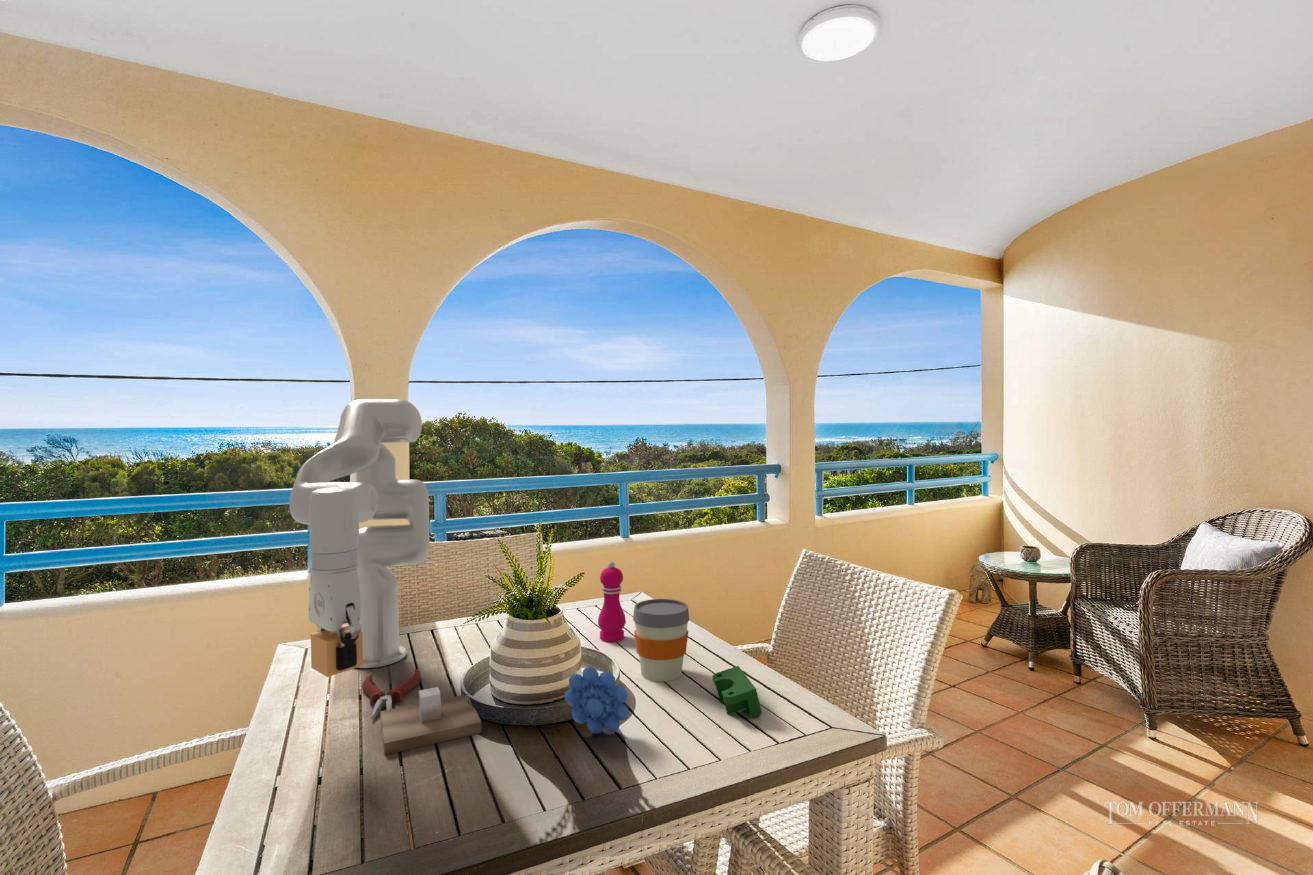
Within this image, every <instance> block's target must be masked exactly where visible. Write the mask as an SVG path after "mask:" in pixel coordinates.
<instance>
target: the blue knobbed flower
mask: <svg viewBox="0 0 1313 875" xmlns="http://www.w3.org/2000/svg"><path fill="white" fill-rule="evenodd" d="M581 674H582V675H581ZM581 674H579V673H574V674H572V675H569V678H568V686H569V687H570V689H568V690H566V691H565V693H564V701H565V702H566V704H567V705H568V706H569V707H571V708H572V710H571V716H572V719H573V720H574V721H575V723H577V724H579V725H580V724H581V725H583V724H585V723H586V726H587V729H588V730H589V732H590V733H593V734H594V735H595V734H597V735H598V734H600V733H602V732H603V729H605V730H606V731H607V732H609V733H616V732H617V731H618V730H619V729H620V721H625V720H627V719H628V718H629V715H630V711H629V707H628V706H627V704H625V702H626V701H627V699H628V691H627V690H626V688H624V686H622V685H618V684H617V685H616V682H617V681H616V676H614V674H613V673H612V672H610V671H606V670H605V671H602V672H600V674H599V671H598V670H597V669H596V668H594V667H593V666H587V667H585V668H583V670H582V673H581Z"/></svg>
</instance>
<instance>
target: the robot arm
mask: <svg viewBox="0 0 1313 875" xmlns="http://www.w3.org/2000/svg"><path fill="white" fill-rule="evenodd" d="M422 425H423V422H422V416H421V414H420V411H419V410H418V408H417V407H416V406H415V405H414V404H413V403H412V402H410V401H409V400H406V399H401V398H397V399H394V398H361V399H360V398H359V399H356V400H353V401H350V402H349V403H347V404H346V405H345V407H344V409H343V410H342V413H341V415H340V420H339V423H338V427H337V432H336V435H335V438H334V442H333V443H332V444H329V445H328V446H326V447H325V448H323V449H322V450H319V452H317V453H315V454H314V455H313V456H311V457H310V458H309V459H307V460H306V461H305V462H304V463H303V464H302V465H301V466H300V468H299V470H298V471H297V475H296V478H295V480H294V484H293V486H292V489H291V492H290V493H291V494H290V498H289V513H290V515H291V517H292V518H293V520H294V521H295V522H296V523H299V524H303V525H308V526H309V567H310V570H309V571H310V577H309V586H308V587H309V588H308V621H310V623H312V625H315V626H316V627H317V629H316V632H318V631H322V630H327V631H329V632H336V636H337V641H338V646H339V647H336V669H337V670H338V671H341V670H344V669H347V668H350V667H353V666H356V664H357V645H356V643H357V642H358V639H357V638H358V636H359V634H360V632H361V631H363V666H360V667H357V668H358V669H374V668H381V667H386V666H388V665H392V664H395V663H397V662H399V661H401V660H403V659H404V658H405V657H406V656H407V648H405V647H404V646H402V645H400V628H399V626H400V625H399V624H400V619H399V616H400V615H399V613H400V612H399V583H398V580H397V578H396V576H395V575H394V574H393V572H392V571H391V570H390V569H389V568H388V567H393V566H407V565H409V566H410V565H417V564H421V563H423V562H425V561H427V558H428V556H429V554H430V553H429V552H430V501H429V499H430V498H429V492H428V488H427V486H426V484H425V482H423V481H422V480H420V479H415V478H414V479H413V478H412V479H410V478H409V479H408V478H407V479H397V477H396V458H395V456H394V455H393V453H392V452H391V450H390V449H389V448H388V447H387V446H386V445H385V443H386V444H387V443H390V444H391V443H392V444H393V443H414V442H416V441H418V439H419V438H420V436H421V433H422V429H423V428H422V427H423V426H422ZM352 474H356V481H334V480H337V479H340V478H343V477H347V476H351V475H352ZM385 520H386V521H388V520H389V521H390V520H391V521H392V520H406V521H408V523H409V524H393V525H391V524H389V525H388V524H387V525H386V524H385V525H384V524H383V525H371V526H370V525H369V526H364V527H361V528H360V523H364V522H366V521H385ZM344 624H347V625H349V626H346V627H342V625H344ZM341 627H342V628H341ZM346 630H349V633H346V635H345V636H344V638H343V633H342V631H346Z"/></svg>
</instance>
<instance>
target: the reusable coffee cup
mask: <svg viewBox="0 0 1313 875" xmlns="http://www.w3.org/2000/svg"><path fill="white" fill-rule="evenodd" d="M689 612H690V611H689V605H688V604H687V603H686V602H683V601H681V600H677V599H672V598H652V599H647V600H642V601H639V602H637V603H635V604H634V607H633V616H632V617H633V619H632V620H633V623H634V626H635V629H634V632H633V634H634V639H635V640H634V641H635V649H636V653H637V654H638V657H639V666H640V672H641V676H642V677H643V678H644V679H646V680H648V681H652V682H660V683H661V682H662V683H663V682H671V681H675V680H677V679H679V678H680V677H681V676H682V673H683V663H684V658H685V657H684V655H685V654H686V652H687V646H688V640H689V639H688V638H689V637H688V636H689V630H688V623H689V621H690V613H689Z"/></svg>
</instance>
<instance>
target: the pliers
mask: <svg viewBox="0 0 1313 875" xmlns="http://www.w3.org/2000/svg"><path fill="white" fill-rule="evenodd" d="M421 676H422V674H421V671H420V670H419V669H414V674H412V676H411V677H410V678H408V679H407V680H405V681H403V682H402V683H400V684H399V685H398V686H396V687H394V688H393V689H389V691H387V692H386V693H385V692H384V691H383V690H381V689H380V688H379V687H377V686H376V685H374V684H373V674H372V673H370V674H367V676H365V679H364V680H363V682H362V684H361V688H362V691H363V693H364V695H366V696H368V697H369V706H370V707H373V706H374V707H373V710H372V715H371V720H372V721H373V720H374V718H376V717H377V716H378V715H380V711H382V708H385V710H390V709H393V704H394V703H401V702H402V700H403V699H402V698H403V696H405V695H407V694H408V693H410V692H411V691H412V690H414V689H415V688H417V687H418V686H419V685H420V683H421Z"/></svg>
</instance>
